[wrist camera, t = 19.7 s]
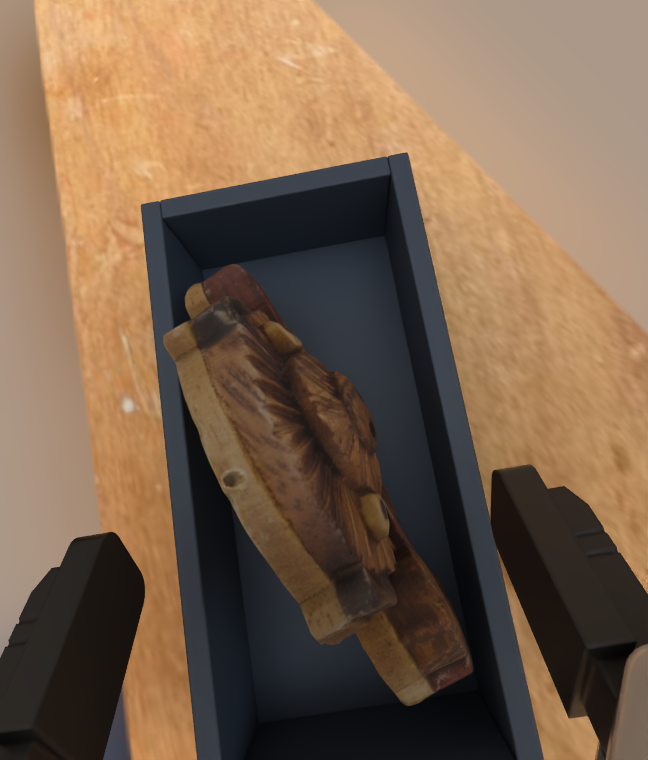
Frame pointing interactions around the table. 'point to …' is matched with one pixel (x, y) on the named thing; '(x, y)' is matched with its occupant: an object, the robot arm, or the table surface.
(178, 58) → the table surface
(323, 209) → the bin
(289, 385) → the wooden carving
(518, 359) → the table surface
